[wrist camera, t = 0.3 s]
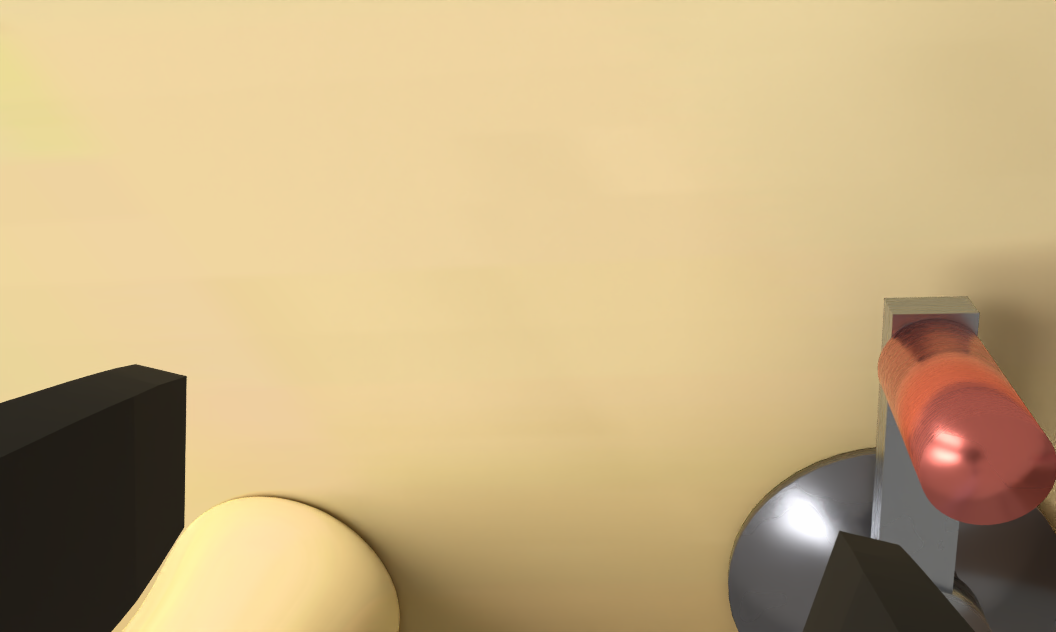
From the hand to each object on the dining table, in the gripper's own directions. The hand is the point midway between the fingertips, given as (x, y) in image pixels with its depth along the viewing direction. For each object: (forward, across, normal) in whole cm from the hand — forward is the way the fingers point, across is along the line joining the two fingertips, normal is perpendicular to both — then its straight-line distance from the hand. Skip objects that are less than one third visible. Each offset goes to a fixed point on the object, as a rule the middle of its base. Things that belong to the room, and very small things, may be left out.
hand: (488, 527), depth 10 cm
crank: (+8, -7, +3) cm, 12 cm away
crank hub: (+10, -8, +6) cm, 14 cm away
